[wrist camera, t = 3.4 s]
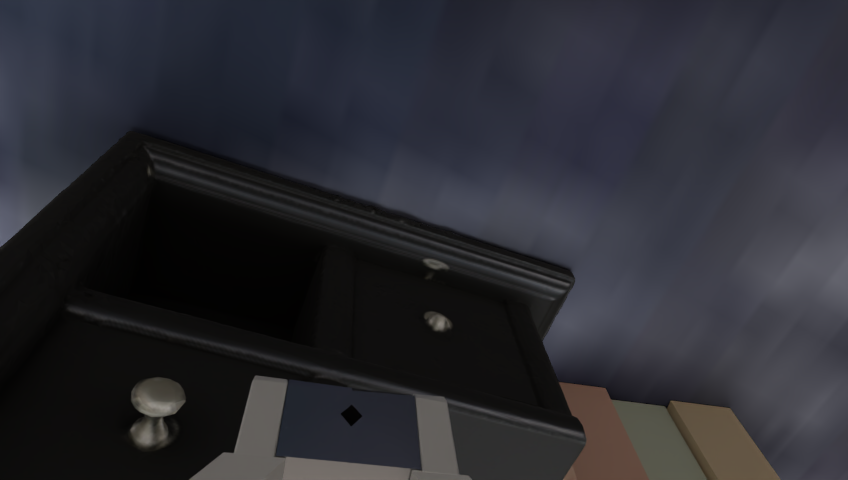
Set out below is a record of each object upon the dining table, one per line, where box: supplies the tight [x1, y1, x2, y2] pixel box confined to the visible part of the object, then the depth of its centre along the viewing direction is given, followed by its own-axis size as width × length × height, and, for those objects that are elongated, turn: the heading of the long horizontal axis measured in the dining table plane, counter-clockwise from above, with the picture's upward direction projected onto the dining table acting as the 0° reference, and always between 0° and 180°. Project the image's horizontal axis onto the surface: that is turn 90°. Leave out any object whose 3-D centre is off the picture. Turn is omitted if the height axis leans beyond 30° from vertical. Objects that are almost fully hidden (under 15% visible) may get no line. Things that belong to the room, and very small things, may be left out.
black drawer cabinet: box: [0, 131, 587, 480], centre depth 23 cm, size 23×11×24 cm, turn 69°
